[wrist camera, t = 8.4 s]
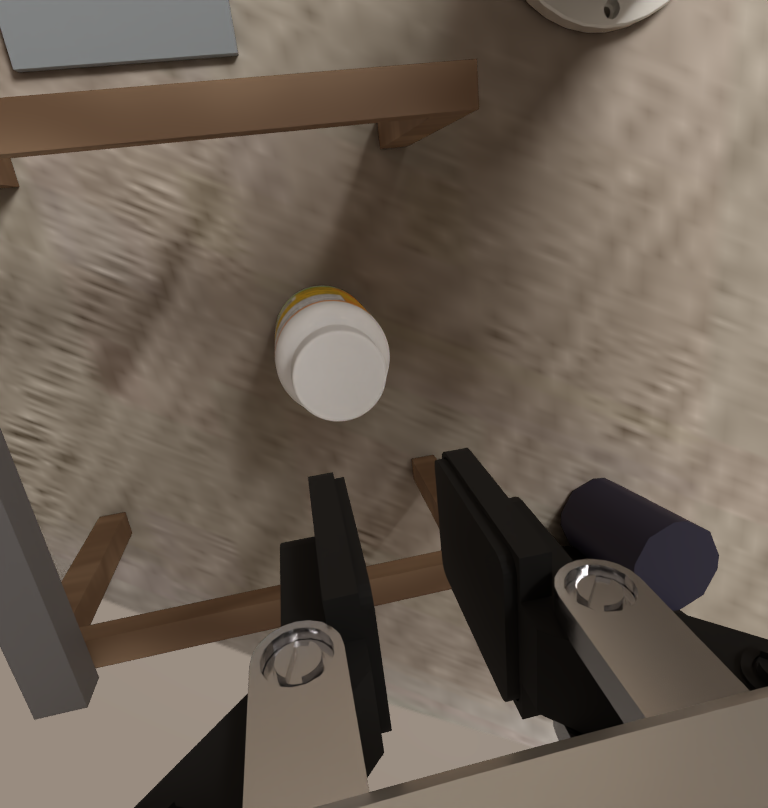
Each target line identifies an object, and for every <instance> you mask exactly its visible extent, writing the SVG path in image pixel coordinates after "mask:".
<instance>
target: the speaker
mask: <svg viewBox="0 0 768 808" xmlns="http://www.w3.org/2000/svg"><path fill="white" fill-rule="evenodd" d="M561 526H562V528H563V530H564V533H565V535H566V537H567V539H568V541H569V543H570V545H572V546H573V547H571V546H561V547H562V548H563V549H564V550H565V552H566V553H567V554H568V555H569V556H570V558H571V559H572V560H573V561H577V560H584V559H597V560H606V561H609V562H613V563H616V564H619V565H621V566H623V567H625V568H627V569H629V570H631V571H632V572H634V573H635V574H636V575H637V576H639V577H640V578H641V579H642V580H643V581H644V582H645V583H646V584H647V585H648V586H649V587H650V588H651V589H652V590H653V591H654V592H655V593H656V595H657V596H658V597H659V598H660V599H661V600H662V601H663V602H664V603H665V604H666V605H667V606H668V607H669V608H670V609H671V610H672V611H674V612H677V613H681V614H684V615H686V614H685V613H683V612H682V611H681V610H680V609H682V608H683V607H685V606H686V605H688V604H689V603H691V602H693V601H694V600H696V599H697V598H699V597H700V596H702V595H703V594H704V592H705V591H706V589H707V587H708V585H709V583H710V582H711V580H712V578H713V576H714V574H715V572H716V571H717V568H718V559H719V554H718V552H717V549H716V546H715V544H714V541H713V538H712V536H711V533H710V531H708V530H706V529H704V528H702V527H700V526H698V525H696V524H694V523H692V522H690V521H688V520H686V519H684V518H682V517H681V516H679V515H677V514H675V513H673V512H671V511H669V510H667V509H665V508H663V507H661V506H659V505H657V504H655V503H653V502H651V501H649V500H648V499H646V498H644V497H642V496H640V495H638V494H636V493H634V492H632V491H630V490H628V489H626V488H624V487H622V486H620V485H618V484H616V483H614V482H612V481H610V480H608V479H606V478H598V479H592V480H591V481H589V482H587V483H586V484H584V485H582V486H581V487H579V488H577V489H576V490H574V491H573V492H572V494H571V495H570V497H569V499H568V501H567V503H566V505H565V507H564V509H563V511H562V513H561Z"/></svg>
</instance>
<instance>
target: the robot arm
mask: <svg viewBox="0 0 768 808" xmlns="http://www.w3.org/2000/svg"><path fill="white" fill-rule="evenodd" d="M526 1H527V3H528V4H529V5H531V6H532V7H533V8H534V9H536V10H537V11H538V12H539V13H540V14H542V15H543V16H544V17H545V18H547V19H549V20H551V21H553V22H555V23H557V24H559V25H560V26H562V27H564V28H567V29H572V30H576V31H580V32H585V33H603V32H610V31H614V30H618V29H622V28H626V27H628V26H630V25H632V24H634V23H636V22H639V21H641V20H643V19H645V18H647V17H648V16H650V15H651V14H653V13H655V12H656V11H658V10H659V9H661V8H662V7H664V6H665V5H667V4H668V3H669V2H670V1H671V0H526ZM604 12H605V13H604ZM605 14H606V16H605ZM435 478H436V491H437V503H438V515H439V527H440V540H441V552H442V562H443V568H444V572H445V575H446V577H447V580H448V582H449V584H450V586H451V588H452V591H453V593H454V595H455V597H456V599H457V601H458V604H459V606H460V608H461V610H462V612H463V614H464V616H465V619H466V621H467V623H468V625H469V627H470V629H471V632H472V634H473V636H474V638H475V640H476V642H477V645H478V647H479V649H480V651H481V653H482V655H483V658H484V660H485V662H486V664H487V666H488V668H489V671H490V673H491V675H492V677H493V679H494V681H495V684H496V686H497V688H498V690H499V692H500V694H501V696H502V698H503V700H504V701H505V702H508V701H512V700H513V701H514V703H515V705H516V707H517V709H518V711H519V713H520V715H521V717H522V719H526V718H530V717H534V716H538V715H543V716H545V717H547V718H549V719H552V720H553V726H554V729H555V732H556V735H557V738H558V739H559V741H557V742H553V743H550V744H546V745H542V746H538V747H535V748H531V749H527V750H523V751H520V752H516V753H512V754H509V755H505V756H501V757H498V758H494V759H490V760H486V761H482V762H479V763H475V764H472V765H468V766H464V767H460V768H456V769H453V770H449V771H445V772H442V773H438V774H435V775H430V776H427V777H423V778H420V779H416V780H412V781H409V782H405V783H401V784H398V785H394V786H390V787H387V788H383V789H379V790H376V791H372V792H369V787H368V780H367V777H368V776H369V774H370V773H371V771H372V770H373V768H374V767H375V765H376V764H377V762H378V761H379V759H380V758H381V756H382V755H383V753H384V748H383V743H382V735H381V733H385V732H389V731H391V730H392V729H391V721H390V714H389V707H388V700H387V693H386V686H385V679H384V672H383V665H382V658H381V650H380V643H379V636H378V629H377V622H376V615H375V608H374V602H373V596H372V591H371V586H370V581H369V577H368V573H367V569H366V565H365V561H364V557H363V553H362V549H361V545H360V541H359V537H358V532H357V528H356V524H355V520H354V516H353V512H352V508H351V504H350V500H349V496H348V492H347V488H346V484H345V480H344V477H341V478H336V479H334V476H333V472H332V473H327V474H321V475H316V476H310V477H308V481H309V489H310V498H311V507H312V516H313V525H314V533H315V537H310V538H304V539H299V540H294V541H289V542H284V543H281V544H280V608H281V627H280V628H278V629H277V630H275V631H273V632H272V633H270V634H269V635H268V636H267V637H265V638H264V639H263V640H262V641H261V642H260V643H259V644H258V646H257V648H256V649H255V651H254V653H253V654H252V657H251V661H250V666H249V683H248V694H247V695H246V696H245V697H244V698H243V699H242V700H241V701H240V702H239V703H238V704H237V705H236V706H235V707H234V708H233V709H232V710H231V711H230V712H229V713H228V714H227V715H226V716H225V717H224V718H223V719H222V720H221V721H220V722H219V723H218V724H217V725H216V726H215V727H214V728H213V729H212V730H211V731H210V732H209V733H208V734H207V735H206V736H205V737H204V738H203V739H202V740H201V741H200V742H199V743H198V744H197V745H196V746H195V747H194V748H193V749H192V750H191V751H190V752H189V753H188V754H187V755H186V756H185V757H184V758H183V759H182V760H181V761H180V762H179V763H178V764H177V765H176V766H175V767H174V768H173V769H172V770H171V771H170V772H169V773H168V774H167V775H166V776H165V777H164V778H163V779H162V780H161V781H160V782H159V783H158V784H157V785H156V786H155V787H154V788H153V789H152V790H151V791H150V792H149V793H148V794H147V795H146V796H145V797H144V798H143V799H142V800H141V801H140V802H139V803H138V804H137V805H136V806H135V807H134V808H768V639H764V638H761V637H758V636H754V635H751V634H748V633H744V632H741V631H738V630H734V629H731V628H728V627H724V626H721V625H718V624H714V623H711V622H707V621H704V620H701V619H697V618H694V617H691V616H687V615H684V614H681V613H677V612H674V611H672V610H671V609H670V608H669V607H668V606H667V605H666V604H665V603H664V602H663V601H662V600H661V599H660V598H659V597H658V596H657V595H656V593H655V592H654V591H653V590H652V589H651V588H650V587H649V586H648V585H647V584H646V583H645V582H644V581H643V580H642V579H641V578H640V577H639V576H637V575H636V574H635V573H634V572H632V571H631V570H629V569H627V568H625V567H623V566H621V565H619V564H616V563H613V562H609V561H606V560H597V559H584V560H577V561H573V560H572V559H571V558H570V556H569V555H568V554H567V553H566V552H565V550H564V549H563V548H562V547H561V546H560V545H559V543H558V542H557V541H556V540H555V539H554V537H553V536H552V535H551V534H550V533H549V532H548V530H547V529H546V528H545V527H544V526H543V525H542V523H541V522H540V521H539V520H538V519H537V517H536V516H535V515H534V514H533V513H532V512H531V510H530V509H529V508H528V507H527V506H526V504H525V503H524V502H523V501H522V500H521V499H520V498H519V497H512V498H508V497H507V495H506V494H505V493H504V492H503V490H502V489H501V488H500V487H499V485H498V484H497V483H496V482H495V481H494V479H493V478H492V477H491V476H490V474H489V473H488V472H487V471H486V469H485V468H484V467H483V466H482V464H481V463H480V462H479V461H478V459H477V458H476V457H475V456H474V455H473V453H472V452H471V451H470V450H469V449H468V448H464V449H458V450H453V451H447V452H443V454H442V459H439V460H435Z"/></svg>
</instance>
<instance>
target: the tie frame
mask: <svg viewBox="0 0 768 808" xmlns="http://www.w3.org/2000/svg"><path fill="white" fill-rule="evenodd" d="M478 109H479V96H478V72H477V59H469V60H456V61H444V62H432V63H420V64H407V65H395V66H383V67H371V68H359V69H346V70H334V71H322V72H310V73H297V74H285V75H273V76H261V77H249V78H236V79H224V80H212V81H200V82H187V83H175V84H163V85H151V86H139V87H126V88H114V89H102V90H90V91H77V92H65V93H53V94H41V95H29V96H16V97H4V98H0V189H1V188H11V187H19V184H18V181H17V178H16V174H15V171H14V168H13V165H12V162H11V159H10V158H17V157H27V156H38V155H48V154H58V153H69V152H79V151H90V150H100V149H110V148H121V147H131V146H141V145H152V144H162V143H172V142H183V141H193V140H204V139H214V138H224V137H235V136H245V135H255V134H266V133H276V132H287V131H297V130H307V129H318V128H328V127H338V126H349V125H359V124H369V123H377V124H378V134H379V144H380V149H388V148H397V147H407V146H409V145H411V144H413V143H415V142H417V141H419V140H421V139H422V138H424V137H426V136H428V135H430V134H432V133H434V132H436V131H438V130H440V129H442V128H443V127H445V126H447V125H449V124H451V123H453V122H455V121H457V120H459V119H461V118H462V117H464V116H466V115H468V114H470V113H472V112H474V111H476V110H478ZM435 460H437V459H436V458H435V456H434V455H430V456H424V457H419V458H413V459H412V468H413V477H414V481H415V483H416V484H417V486H418V488H419V490H420V492H421V494H422V496H423V498H424V500H425V502H426V504H427V506H428V508H429V510H430V511H431V513H432V515H433V517H434V519H435V521H436V523H437V525H438V527H439V515H438V503H437V491H436V478H435ZM439 529H440V527H439ZM131 534H132V531H131V528H130V525H129V522H128V519H127V516H126V512H124V513H118V514H113V515H107V516H102V517H99V519H98V521H97V522H96V524H95V526H94V527H93V529H92V531H91V532H90V534H89V536H88V538H87V539H86V541H85V543H84V544H83V546H82V548H81V549H80V551H79V553H78V555H77V556H76V558H75V560H74V561H73V563H72V565H71V567H70V568H69V570H68V572H67V573H66V575H65V577H64V578H63V580H62V582H61V583H62V585H63V588H64V590H65V593H66V595H67V598H68V600H69V603H70V606H71V608H72V611H73V613H74V616H75V618H76V621H77V623H78V626H79V628H80V631H81V633H82V636H83V638H84V641H85V643H86V646H87V648H88V651H89V653H90V656H91V659H92V661H93V664H94V666H95V668H99V667H103V666H108V665H113V664H117V663H121V662H126V661H131V660H135V659H140V658H144V657H149V656H153V655H157V654H162V653H167V652H171V651H175V650H180V649H184V648H189V647H193V646H198V645H202V644H207V643H211V642H216V641H220V640H225V639H229V638H234V637H238V636H243V635H247V634H252V633H256V632H261V631H265V630H270V629H274V628H279V627H281V608H280V585H277V586H272V587H267V588H263V589H258V590H253V591H248V592H244V593H239V594H234V595H230V596H225V597H220V598H215V599H211V600H206V601H201V602H197V603H192V604H187V605H182V606H178V607H173V608H168V609H164V610H159V611H154V612H149V613H145V614H140V615H135V616H131V617H126V618H121V619H117V620H112V621H107V622H102V623H98V624H93V625H91V622H92V620H93V618H94V616H95V614H96V611H97V609H98V607H99V605H100V603H101V600H102V598H103V596H104V594H105V592H106V589H107V587H108V585H109V583H110V581H111V578H112V576H113V574H114V572H115V570H116V567H117V565H118V563H119V561H120V559H121V556H122V554H123V552H124V550H125V548H126V545H127V543H128V541H129V539H130V537H131ZM366 569H367V573H368V577H369V581H370V586H371V591H372V596H373V602H374V606H377V605H382V604H386V603H391V602H395V601H400V600H404V599H409V598H413V597H418V596H422V595H426V594H431V593H435V592H440V591H444V590H449V589H452V588H451V586H450V584H449V582H448V580H447V577H446V575H445V572H444V568H443V562H442V552H441V551H437V552H432V553H427V554H423V555H418V556H413V557H409V558H404V559H399V560H394V561H390V562H385V563H380V564H376V565H371V566H366Z"/></svg>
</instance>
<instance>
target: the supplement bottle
mask: <svg viewBox="0 0 768 808" xmlns="http://www.w3.org/2000/svg"><path fill="white" fill-rule="evenodd" d="M389 363H390V351H389V345H388V342H387V339H386V336H385V334H384V332H383V330H382V328H381V327H380V325H379V324H378V322H377V321H376V320H375V319H374V318H373V317H372V316H371V315H370V313H369V312H368V311H367V310H366V309H365V308H364V307H363V306H362V305H361V304H360V303H359V302H358V301H357V300H356V299H355V298H354V297H353V296H351V295H350V294H349V293H347V292H345V291H343V290H341V289H339V288H336V287H332V286H312V287H309V288H306V289H303V290H301V291H299V292H297V293H296V294H295V295H293V296H292V297H291V298H290V299H289V300H288V301H287V302H286V303H285V304H284V306H283V307H282V309H281V311H280V313H279V315H278V318H277V322H276V327H275V364H276V370H277V374H278V377H279V379H280V382H281V384H282V386H283V387H284V389H285V390H286V392H287V393H288V394H289V396H290V397H291V398H292V399H293V400H295V401H296V402H297V403H298V404H300V405H301V406H303V407H304V408H305V409H307V410H308V411H309V412H310V413H312V414H313V415H315V416H317V417H319V418H321V419H324V420H329V421H337V422H338V421H348V420H352V419H355V418H357V417H360V416H362V415H363V414H365V413H366V412H368V411H369V410H370V409H371V408H372V407H373V406H374V405H375V404H376V403H377V402H378V400H379V399H380V397H381V395H382V393H383V390H384V387H385V383H386V376H387V373H388V370H389Z"/></svg>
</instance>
